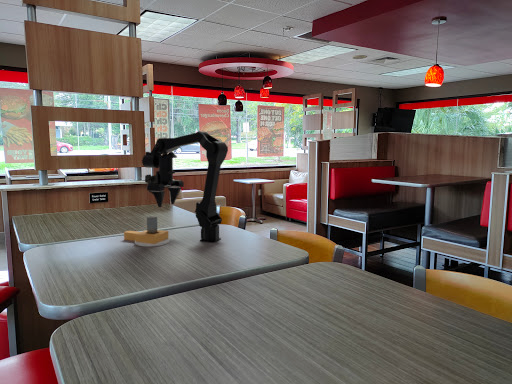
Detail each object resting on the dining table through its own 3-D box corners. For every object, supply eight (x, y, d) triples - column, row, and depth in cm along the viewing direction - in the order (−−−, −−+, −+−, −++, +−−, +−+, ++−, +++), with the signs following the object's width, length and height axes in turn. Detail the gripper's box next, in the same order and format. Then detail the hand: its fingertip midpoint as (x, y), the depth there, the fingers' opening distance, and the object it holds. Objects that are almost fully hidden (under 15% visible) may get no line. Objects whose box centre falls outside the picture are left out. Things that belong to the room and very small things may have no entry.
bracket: (176, 239, 149) (175, 230, 148) (156, 248, 137) (156, 238, 136) (137, 235, 155) (137, 226, 155) (115, 242, 143) (114, 232, 143)
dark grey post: (157, 239, 145) (157, 217, 144) (153, 241, 143) (153, 218, 142) (151, 238, 146) (150, 216, 145) (147, 240, 144) (146, 217, 143)
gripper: (162, 166, 167) (163, 201, 169) (135, 169, 149) (136, 207, 151) (184, 167, 163) (184, 202, 165) (158, 170, 145) (159, 209, 148)
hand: (166, 205), depth 157 cm, fingers open, 9 cm apart
